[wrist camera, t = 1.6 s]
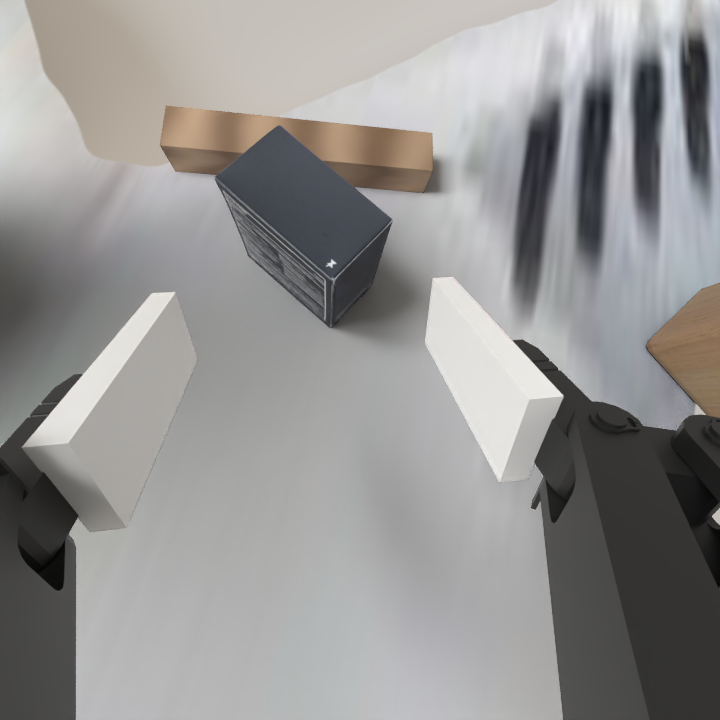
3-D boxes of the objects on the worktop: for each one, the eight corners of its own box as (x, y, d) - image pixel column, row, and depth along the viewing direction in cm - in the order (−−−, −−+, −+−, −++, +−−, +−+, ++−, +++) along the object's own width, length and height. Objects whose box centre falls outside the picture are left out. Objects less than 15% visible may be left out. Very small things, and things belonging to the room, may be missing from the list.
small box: (377, 281, 33) (399, 217, 23) (330, 330, 32) (333, 286, 22) (294, 210, 34) (280, 116, 24) (245, 255, 33) (208, 178, 22)
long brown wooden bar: (176, 173, 34) (160, 145, 30) (181, 137, 35) (165, 105, 31) (422, 195, 36) (432, 170, 32) (422, 160, 37) (432, 133, 33)
